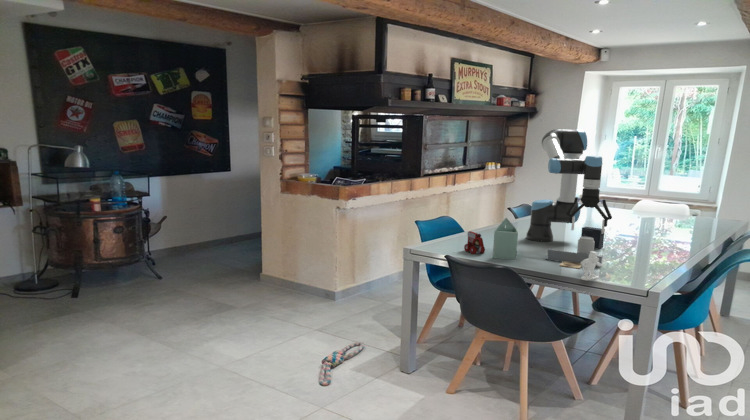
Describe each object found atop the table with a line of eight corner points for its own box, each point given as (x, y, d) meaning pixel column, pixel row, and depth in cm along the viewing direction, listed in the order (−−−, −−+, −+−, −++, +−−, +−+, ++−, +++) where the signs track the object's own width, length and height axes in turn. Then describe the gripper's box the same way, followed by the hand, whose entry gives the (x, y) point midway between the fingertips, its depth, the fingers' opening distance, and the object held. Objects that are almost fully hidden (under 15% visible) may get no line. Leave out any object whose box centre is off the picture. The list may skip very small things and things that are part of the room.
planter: (505, 261, 237) (507, 221, 234) (492, 257, 243) (494, 218, 240) (526, 256, 247) (528, 218, 244) (513, 253, 253) (515, 216, 250)
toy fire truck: (476, 255, 247) (477, 235, 245) (462, 250, 258) (463, 230, 256) (487, 254, 250) (488, 234, 248) (473, 249, 261) (474, 230, 259)
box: (603, 247, 273) (605, 228, 271) (599, 249, 268) (601, 230, 266) (584, 244, 280) (585, 226, 278) (579, 245, 275) (581, 227, 274)
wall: (547, 259, 243) (548, 249, 242) (549, 257, 246) (549, 247, 245) (600, 267, 230) (601, 256, 229) (601, 265, 234) (602, 255, 233)
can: (573, 259, 244) (575, 235, 242) (587, 259, 244) (590, 235, 243) (581, 263, 236) (583, 239, 235) (595, 263, 237) (598, 239, 235)
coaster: (559, 266, 230) (559, 264, 230) (563, 262, 238) (563, 260, 238) (579, 269, 226) (579, 267, 226) (582, 264, 233) (583, 263, 233)
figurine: (590, 282, 206) (592, 254, 204) (577, 277, 212) (579, 250, 210) (604, 279, 210) (606, 252, 209) (591, 275, 216) (593, 249, 214)
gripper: (562, 186, 238) (559, 229, 241) (619, 190, 225) (614, 235, 228) (565, 185, 244) (562, 227, 247) (620, 189, 232) (616, 233, 235)
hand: (587, 231), depth 238 cm, fingers open, 13 cm apart
